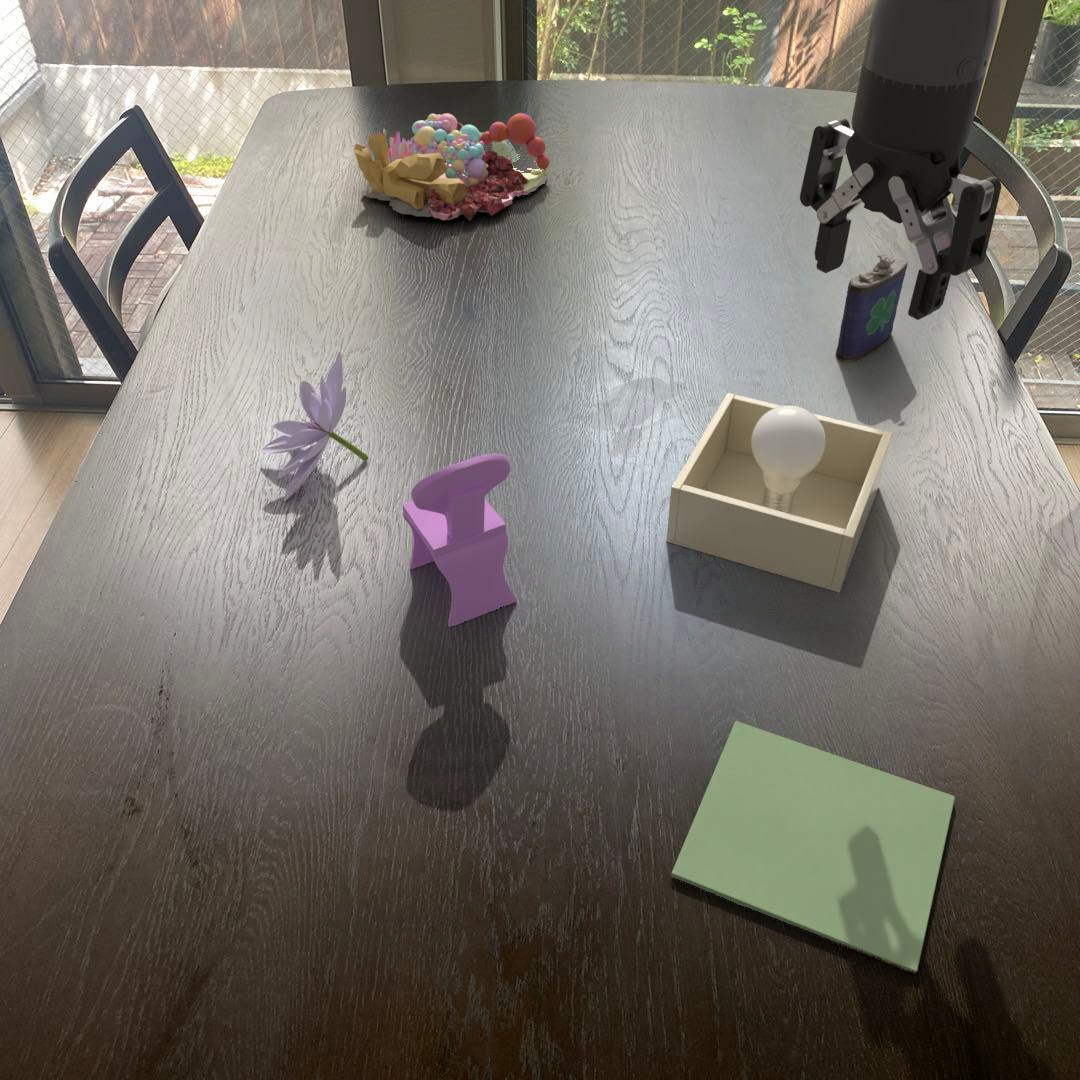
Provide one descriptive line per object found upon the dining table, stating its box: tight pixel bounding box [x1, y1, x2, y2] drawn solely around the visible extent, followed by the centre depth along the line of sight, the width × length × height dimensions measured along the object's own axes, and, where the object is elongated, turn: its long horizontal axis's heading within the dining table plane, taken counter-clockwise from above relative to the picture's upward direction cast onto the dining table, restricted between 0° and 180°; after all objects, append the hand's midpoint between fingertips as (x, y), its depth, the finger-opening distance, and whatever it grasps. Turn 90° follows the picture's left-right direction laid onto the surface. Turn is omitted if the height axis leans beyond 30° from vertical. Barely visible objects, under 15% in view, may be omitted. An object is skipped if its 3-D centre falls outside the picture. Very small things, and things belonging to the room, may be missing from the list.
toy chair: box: [401, 453, 518, 628], centre depth 88 cm, size 8×9×15 cm
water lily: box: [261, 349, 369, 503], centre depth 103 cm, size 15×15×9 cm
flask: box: [835, 253, 908, 363], centre depth 117 cm, size 9×3×11 cm, turn 133°
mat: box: [670, 720, 956, 972], centre depth 74 cm, size 16×14×1 cm
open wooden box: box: [665, 392, 894, 593], centre depth 97 cm, size 16×16×6 cm
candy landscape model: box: [352, 112, 550, 222], centre depth 149 cm, size 25×24×9 cm
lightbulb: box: [751, 404, 826, 513], centre depth 95 cm, size 6×6×11 cm
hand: (873, 290), depth 79 cm, fingers open, 8 cm apart
